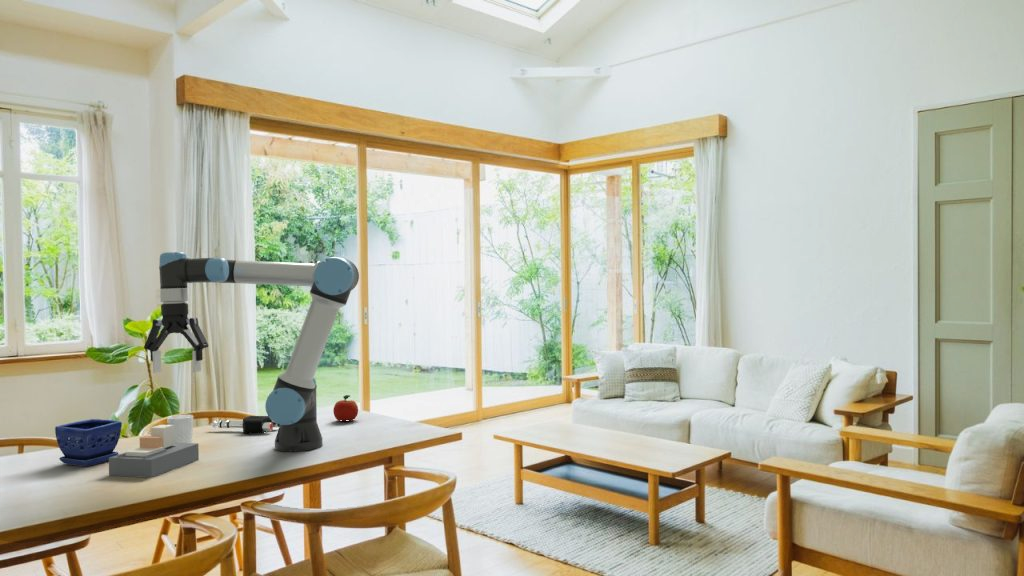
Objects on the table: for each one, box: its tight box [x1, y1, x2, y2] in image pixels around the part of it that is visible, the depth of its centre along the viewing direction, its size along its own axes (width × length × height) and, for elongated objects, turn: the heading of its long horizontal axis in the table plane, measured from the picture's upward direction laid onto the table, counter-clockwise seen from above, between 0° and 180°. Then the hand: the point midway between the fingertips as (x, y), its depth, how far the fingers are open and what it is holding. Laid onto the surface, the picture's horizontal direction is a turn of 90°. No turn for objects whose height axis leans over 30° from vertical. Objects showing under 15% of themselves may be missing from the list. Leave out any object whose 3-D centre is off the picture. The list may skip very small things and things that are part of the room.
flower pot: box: [54, 418, 123, 467], centre depth 211 cm, size 13×13×12 cm
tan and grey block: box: [124, 435, 164, 457], centre depth 200 cm, size 7×7×4 cm
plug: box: [150, 424, 174, 450], centre depth 207 cm, size 4×4×11 cm
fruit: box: [333, 394, 359, 421], centre depth 271 cm, size 10×10×10 cm
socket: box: [108, 442, 200, 478], centre depth 204 cm, size 14×20×6 cm
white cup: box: [166, 414, 194, 443], centre depth 231 cm, size 8×8×10 cm
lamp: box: [209, 415, 280, 434], centre depth 254 cm, size 11×5×25 cm
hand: (177, 372), depth 211 cm, fingers open, 13 cm apart
